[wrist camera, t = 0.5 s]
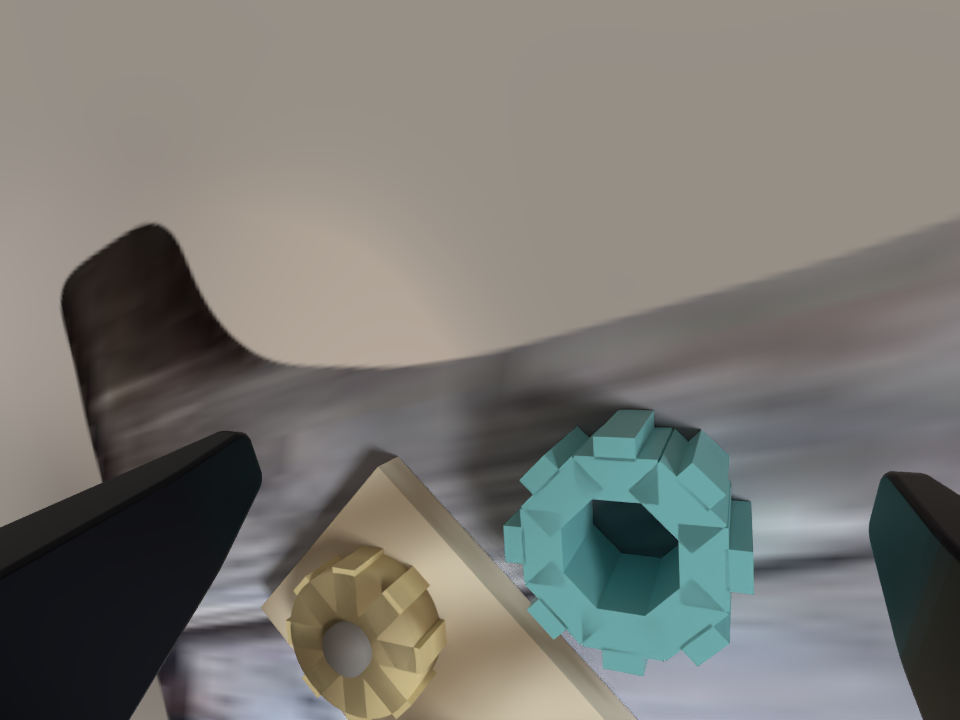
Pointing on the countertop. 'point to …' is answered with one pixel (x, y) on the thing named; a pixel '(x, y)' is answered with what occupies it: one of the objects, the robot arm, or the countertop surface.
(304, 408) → the countertop surface
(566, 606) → the teal gear
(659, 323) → the countertop surface
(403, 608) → the gear board
